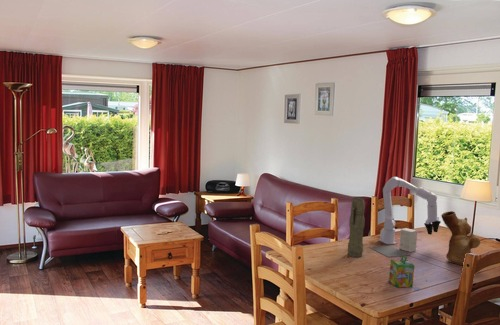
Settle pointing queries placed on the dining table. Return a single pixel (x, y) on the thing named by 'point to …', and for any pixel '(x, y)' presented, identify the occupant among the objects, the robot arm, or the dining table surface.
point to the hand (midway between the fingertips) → (432, 233)
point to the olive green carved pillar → (356, 228)
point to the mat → (389, 251)
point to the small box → (408, 239)
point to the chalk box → (401, 272)
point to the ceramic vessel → (459, 238)
